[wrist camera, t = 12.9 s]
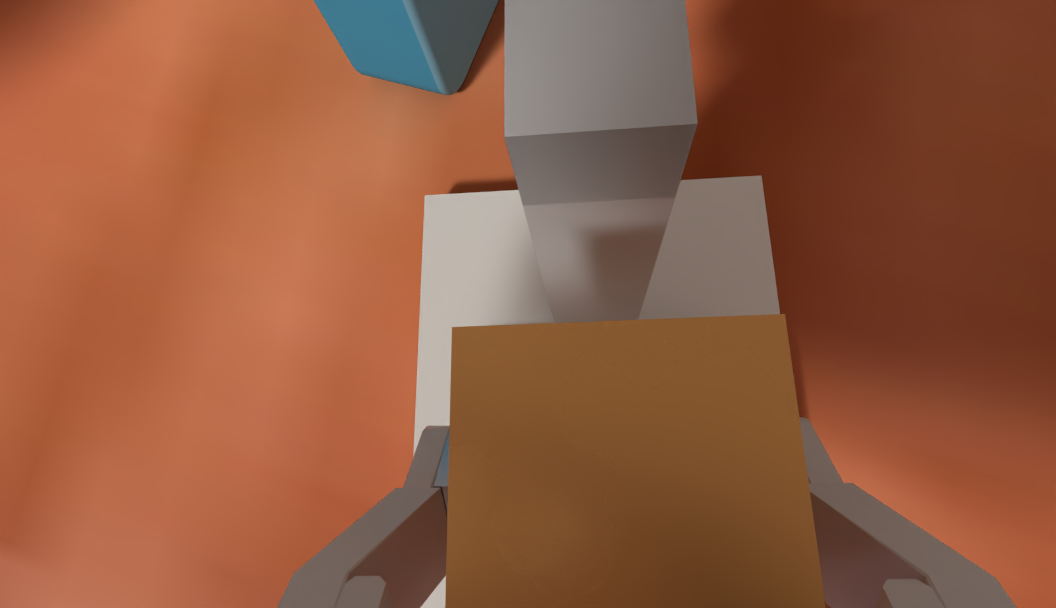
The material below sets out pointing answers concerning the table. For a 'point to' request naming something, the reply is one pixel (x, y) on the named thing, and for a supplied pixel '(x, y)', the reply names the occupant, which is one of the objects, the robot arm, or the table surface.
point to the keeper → (590, 196)
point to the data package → (410, 38)
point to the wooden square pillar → (628, 467)
